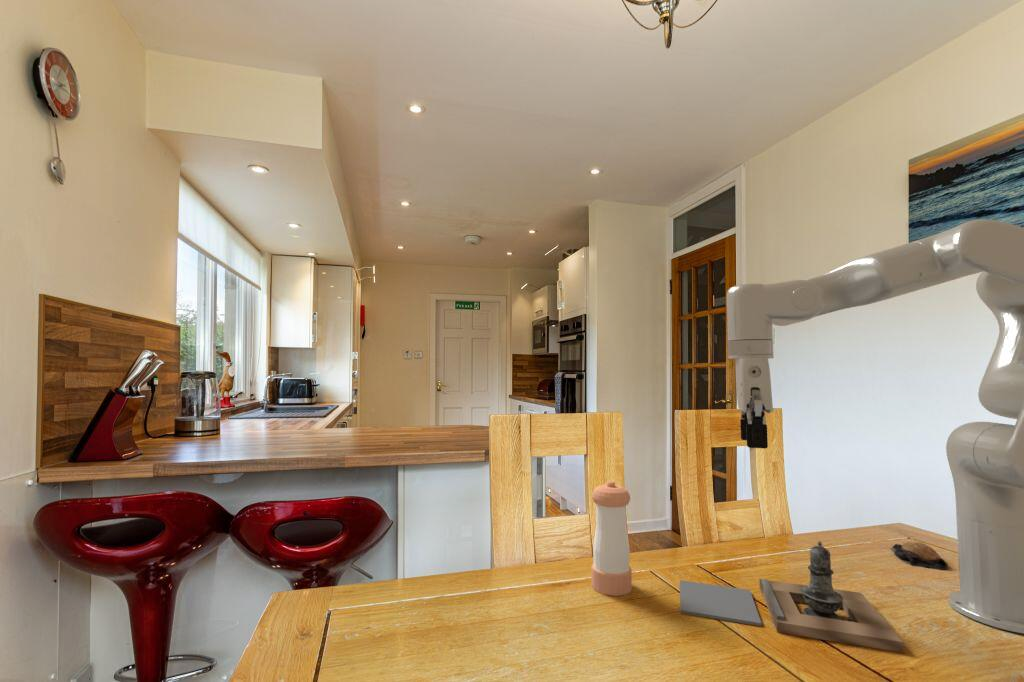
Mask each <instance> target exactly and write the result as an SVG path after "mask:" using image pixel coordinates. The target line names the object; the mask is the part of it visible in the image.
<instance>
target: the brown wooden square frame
mask: <svg viewBox="0 0 1024 682" xmlns="http://www.w3.org/2000/svg"><path fill="white" fill-rule="evenodd" d="M758 582H759V583H758V584H759V590H760V592H761V595H762V597H763V599H764V603H765V604H766V607H767V611H768V613H769V614H770V617H771V619H772V623H773V624H774V627H775V630H776V633H781V634H788V635H792V636H799V637H806V638H812V639H817V640H824V641H829V642H835V643H840V644H848V645H854V646H855V645H856V646H860V647H865V648H872V649H879V650H883V651H891V652H896V653H904V641H903V640H902V639H901V638H900V637H899V635H898V634H897V633H896V632H895V630H894V629H893V628H892V627H891V626H890V624H889V623H887V621H886V620H885V619H884V618H883V617H882V615H881V613H879V612H878V611H877V609H876V608H875V607H874V605H872V603H871V602H870V601H869V600H868V598H866V596H865V595H864V594H863V593H862V592H860V591H859V592H858V591H852V590H851V591H850V590H844V589H836V588H833V590H834V591H835V592H837V593H839V594H840V595H841V596H842V597H843V601H842V602H841V605H840V608H839V609H842V611H844V613H845V614H846V616H847V617H848V619H849V621H848V620H843V619H841V620H837V619H830V618H824V617H817V616H810V615H805V614H804V613H801V612H800V611H799V609H798V607H797V606H796V603H803V604H807V603H806V602H805V600H804V597H803V593H802V592H801V588H802V587H803V586H808V585H807V584H801V583H799V584H798V583H792V582H785V581H784V582H783V581H776V580H768V579H765V578H761V579H760V578H759V581H758Z"/></svg>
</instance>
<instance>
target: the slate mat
mask: <svg viewBox="0 0 1024 682" xmlns="http://www.w3.org/2000/svg"><path fill="white" fill-rule="evenodd" d="M679 605H680V606H679V608H680V610H679V611H680V614H682V615H683V614H684V615H688V616H689V615H690V616H696V617H702V618H709V619H713V620H719V621H720V620H721V621H725V622H726V621H727V622H731V623H737V624H743V625H744V624H745V625H750V626H755V627H756V626H757V627H762V625H763V624H762V623H763V622H762V620H761V617H760V615H759V612H758V609H757V606H756V604H755V601H754V598H753V595H752V592H751V590H750V589H747V588H746V589H745V588H739V587H733V586H732V587H731V586H724V585H718V584H710V583H704V582H695V581H688V580H683V579H680V580H679Z"/></svg>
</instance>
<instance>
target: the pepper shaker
mask: <svg viewBox="0 0 1024 682" xmlns="http://www.w3.org/2000/svg"><path fill="white" fill-rule="evenodd" d="M591 497H592V500H593V502H594V503H595V504H596V506H595V507H596V509H595V511H596V512H595V530H594V531H595V532H594V538H593V546H592V549H593V551H592V552H593V563H592V565H591V587H592V589H593V590H594V591H596V592H598V593H600V594H603V595H607V596H624V595H627V594H629V593H631V592H632V588H633V583H632V578H633V576H632V575H633V574H632V568H631V566H630V543H629V537H628V531H627V506H628V505H629V503H630V500H631V495H630V493H629V491H628V489H627V488H625V487H623V486H622V485H621V486H620V485H619V484H616V483H615V481H612V480H609V481H607V482H606V483H605V484H601V485H598V486H596V487H595V488H594V490H593V491H592V494H591Z"/></svg>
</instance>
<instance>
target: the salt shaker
mask: <svg viewBox="0 0 1024 682" xmlns="http://www.w3.org/2000/svg"><path fill="white" fill-rule="evenodd" d="M822 545H823V542H821V541H818V542H817V545H814V546H812V547H811V548H810V550H809V555H810V557H809V558H810V565H808V566H807V569H808V570H809V574H810V578H809V579H810V581H809V583H808V585H807V586H803V587H802V588H801V592H802V593H803V597H804V600H805V602H806V603H805V604H806V605H808V607H806V608H804V609H803V613H802V614H804V615H810V616H817V617H824V618H830V619H837V620H842V617H840V615H838V614H837V613H836V612H838V611H839V610H840V609H841V608H840V605H841V602H842V601H843V597H842V596H841V595H840V594H839V593H837V592H835V591H834V590H833V589H834V588H833V583H832V582H833V581H832V579H833V577H832V576H833V575H834V574H835V573H834V571H833V569H832V568H831V565H832V564H831V563H832V562H831V552H830V551H829V550H828V549H827V548H825V547H824V546H822Z"/></svg>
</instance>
